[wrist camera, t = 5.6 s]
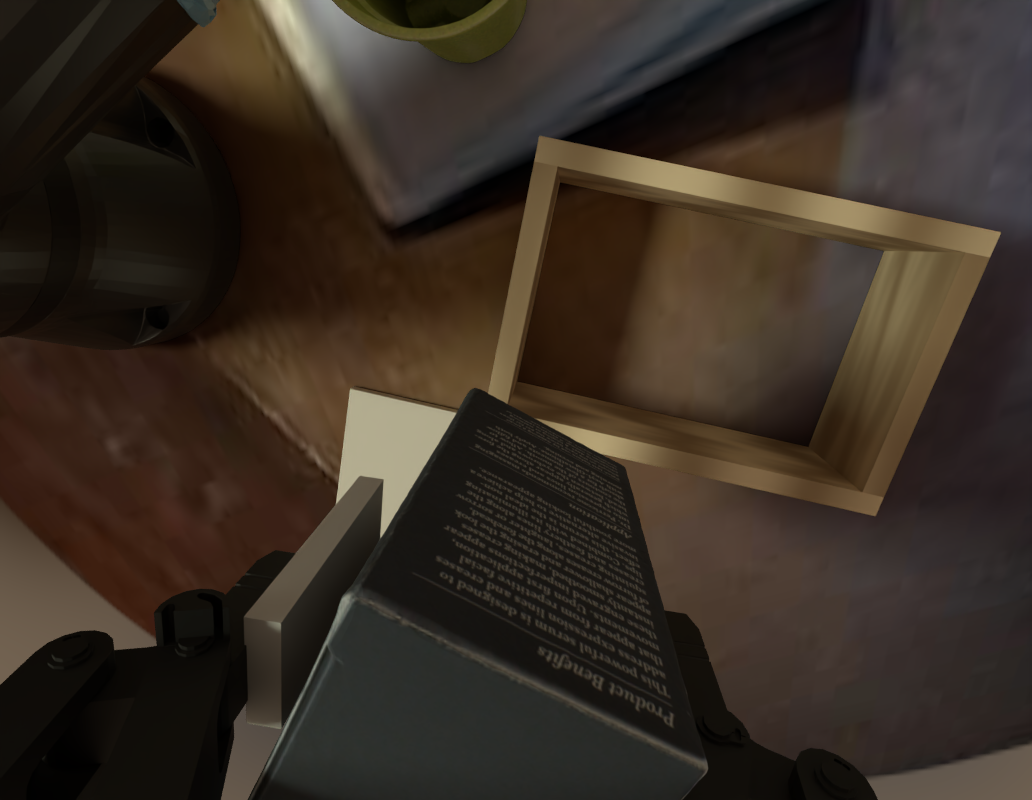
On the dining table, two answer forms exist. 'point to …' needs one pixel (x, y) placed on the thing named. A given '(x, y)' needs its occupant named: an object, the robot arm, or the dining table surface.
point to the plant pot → (442, 23)
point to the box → (498, 639)
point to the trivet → (389, 443)
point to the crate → (863, 370)
